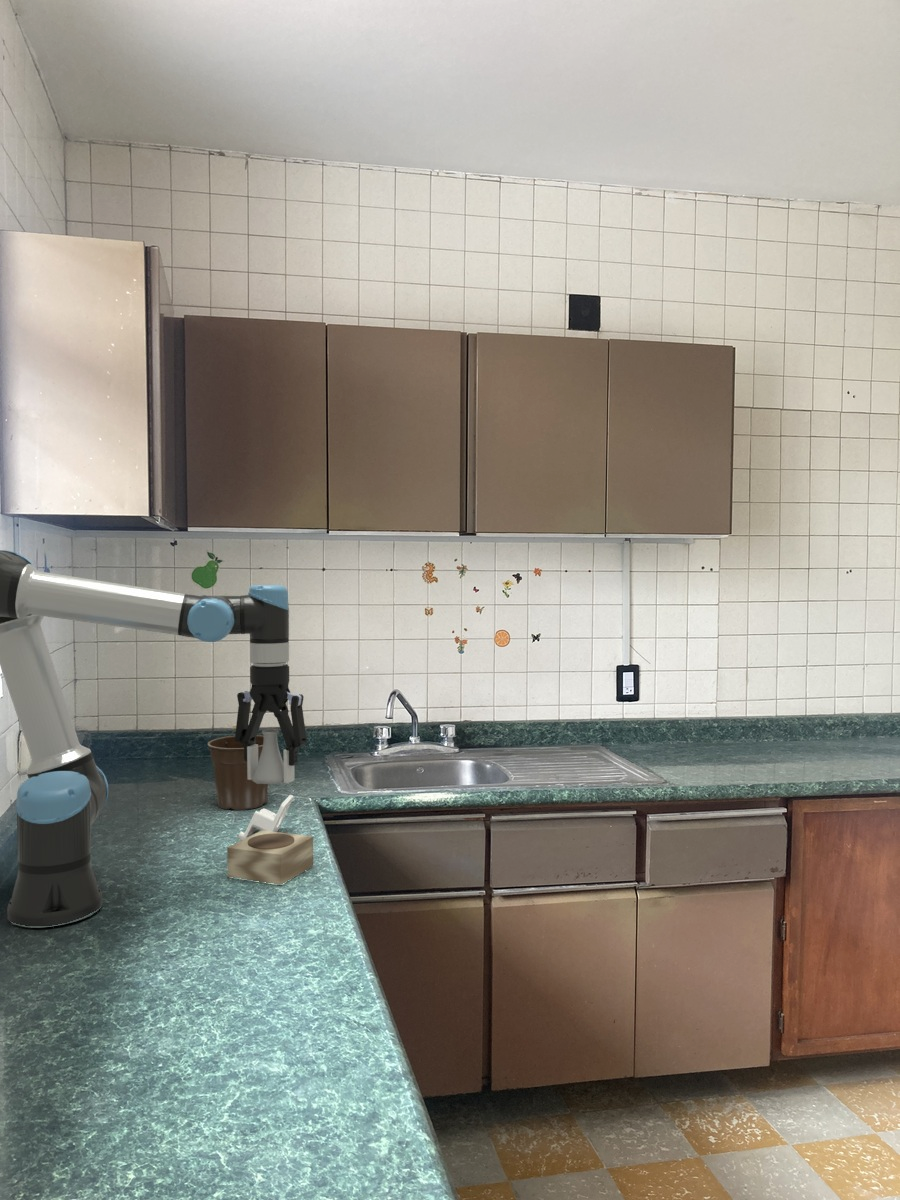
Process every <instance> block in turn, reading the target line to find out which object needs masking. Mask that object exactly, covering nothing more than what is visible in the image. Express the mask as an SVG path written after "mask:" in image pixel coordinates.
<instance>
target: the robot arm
mask: <svg viewBox="0 0 900 1200" xmlns="http://www.w3.org/2000/svg"><path fill="white" fill-rule="evenodd" d="M248 590H249V591H248V594H244V595H206V594H205V595H204V594H201V595H195V594H188V593H187V594H186V593H181V592H180V593H179V592H175V591H168V590H164V589H155V588H150V587H149V588H148V587H142V586H137V585H130V584H123V583H118V582H116V583H115V582H111V581H104V580H97V579H91V578H86V577H85V578H83V577H77V576H73V575H66V574H65V575H64V574H60V573H52V572H46V571H41V570H38V569H37V567H36V566H35V565H34V563H32V562H31V561H30V559H28V558H27V557H25V556H23V555H21V554H19V553H17V552H14V551H10V550H5V549H4V550H2V549H0V669H1V672H2V675H3V678H4V680H5V684H6V687H7V690H8V692H9V695H10V698H11V701H12V705H13V707H14V711H15V713H16V716H17V719H18V722H19V726H20V729H21V732H22V734H23V738H24V739H25V743H26V746H27V749H28V753H29V756H30V758H31V762H30V764H29V766H28V768H27V770H26V775H27V778H28V779H25V781H23V782H22V783H21V784H20V785H19V787H18V789H17V793H16V800H15V811H16V830H17V831H16V835H17V836H16V837H17V838H16V839H17V870H18V871H17V875H16V879H15V882H14V886H13V888H12V889H13V890H12V893H11V897H10V899H9V901H8V903H7V920H8V919H9V920H10V921H11V922H13V923H16V924H20V925H25V926H52V925H58V924H62V923H67V922H70V921H73V920H76V919H79V918H82V917H84V916H86V915H88V914H90V913H92V912H94V911H96V910H97V909H99V908H100V907H101V905H102V906H103V892H102V889H101V887H99V884H98V880H97V877H96V873H95V871H94V868H93V866H92V850H91V849H92V846H91V843H92V841H91V839H92V838H91V827H92V825H93V823H94V822H95V821H96V819H98V818H99V816H100V815H101V814H102V812H103V811H104V809H105V806H106V804H107V802H108V797H109V784H108V780H107V777H106V775H105V773H104V772H103V770H102V769H100V768H99V767H98V766H97V764H96V762H95V759H94V755H93V753H92V751H91V749H90V748H89V747H86V746H84V745H82V744H81V743H80V741H79V737H78V735H77V732H76V729H75V726H74V722H73V720H72V717H71V714H70V711H69V707H68V705H67V702H66V698H65V694H64V693H63V689H62V687H61V683H60V680H59V678H58V674H57V671H56V669H55V665H54V663H53V659H52V656H51V653H50V650H49V647H48V645H47V643H48V642H47V641H46V638H45V635H44V632H43V629H42V625H41V623H42V621H43V619H44V617H47V618H55V619H61V620H69V621H75V622H82V623H89V624H97V625H103V626H110V627H117V628H118V627H119V628H124V629H132V630H140V631H146V632H153V633H160V634H166V635H175V636H181V637H186V638H191V639H192V638H193V639H196V640H197V639H198V640H199V641H201V642H205V643H207V642H208V643H214V642H215V643H216V642H219V641H221V640H223V639H224V638H226V637H227V636H228V635H248V634H249V662H250V663H251V664H252V665H251V666H250V667H249V673H250V674H249V676H250V677H249V679H250V680H249V682H250V685H251V688H250V689H249V691H248V690H245V691H241V692H238V693H237V695H236V697H237V703H238V707H237V717H236V718H237V719H236V724H235V733H234V736H235V741H236V742H240V743H242V744H243V745H244V760H245V761H246V762H247V777H248V780H252V779H253V776H254V773H255V770H256V767H257V765H258V744H254V745H253V743H256V741H255V739H256V736H257V735H258V733H259V730H260V727H261V725H262V721H263V719H264V715H266V713H267V712H270V713H273V716H274V717H275V718H276V720H277V723H278V725H279V729H280V731H281V734H282V738H283V739H284V743H285V744H286V747H285V749H284V748H283V763H284V782H283V784H289V783H291V782H292V783H293V782H294V781H296V780H295V766H296V765H297V764H298V763H299V761H298V759H299V751H298V750H299V748H300V747H302V746H305V745H306V744H308V743H307V742H308V740H307V733H306V732H307V731H306V726H305V724H306V723H305V718H304V710H303V703H304V695H303V694H301V693H300V694H296V693H292V692H291V691H290V689H289V685H290V666H289V664H287V663H288V662H289V661H290V642H289V641H290V640H289V639H290V637H289V636H290V608H289V603H290V602H289V591H288V589H287V588H286V586H284V585H281V584H258V585H257V584H256V585H255V584H254V585H251V586H250V587H249V589H248ZM251 701H253V702H254V705H253V707H252V710H251V706H252V703H251ZM287 702H288V704H289V705H290V708H288V705H287ZM289 709H290V710H289ZM289 711H290V712H289ZM250 713H251V717H250ZM289 713H290V715H291V717H290V715H289Z"/></svg>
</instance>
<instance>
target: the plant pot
mask: <svg viewBox="0 0 900 1200" xmlns="http://www.w3.org/2000/svg"><path fill="white" fill-rule="evenodd" d="M255 741H256V743H253V745H254V744H258V761H259V758H260V755H261V752H262V747H263V741H264V736H263V735H261V734H260V735H259V734H257V736H256V739H255ZM207 746H208V748H209V751H210V759H211V761H212V767H213V773H214V781H215V782H214V783H215V791H216V792H215V793H216V799H217V806H218V807H219V808H220V807H221V808H220V809H223V810H227V809H228V810H230V809H233V810H234V811H245V810H247V809H248V810H253V809H255V808H259V807H262V806H264V805H265V804H266V803H267V802H268V788H269V787H268V786H269V784H257V783H255V782H253V781H252V780H248V777H247V762H246V761H245V760H244V745H243V744H242V743H240V742H236V741H235V735H232V736H231V735H227V736H222V737H217V738H215V739H211V740H210V741H208V742H207ZM248 810H247V811H248Z"/></svg>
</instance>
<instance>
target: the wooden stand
mask: <svg viewBox="0 0 900 1200" xmlns="http://www.w3.org/2000/svg"><path fill="white" fill-rule="evenodd" d="M226 849H227V850H226V851H227V853H226V854H227V862H226V864H227V878H228V877H233V878H241V879H247V880H253V881H259V882H266V883H274V884H283V883H285V882H286V881H288V880H290V879H292V878H294V877H295V876H297V875H298V876H300V875H301V874H300V873H302V872H303V873H305V872H306V871H308V870H309V869H311V868H313V867H314V836H310V835H302V834H295V833H288V832H278V831H277V832H273V831H265V830H259V831H258V832H257V831H256V832H254V833H253V834H252V835H251V836H249V837H247V838H245V839H243V840H239V841H238V842H235V843H234V844H231V845H229V846H228V847H227V848H226ZM312 866H313V867H312ZM307 869H308V870H307ZM305 870H306V871H305ZM304 871H305V872H304ZM303 873H302V874H303ZM299 874H300V875H299ZM298 876H297V877H298ZM295 878H296V877H295ZM295 878H294V879H295ZM292 880H293V879H292ZM290 881H291V880H290Z"/></svg>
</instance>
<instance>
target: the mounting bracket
mask: <svg viewBox="0 0 900 1200" xmlns="http://www.w3.org/2000/svg"><path fill="white" fill-rule="evenodd" d="M293 799H294V795H292V794H289V795H288V797H286V798H285V800H284V801H283V802H281V804H280V806H279V808H278V811H277V812H276V813H275V812H273V811H270V810H269V809H266V808H263V807H262V809H260V810H259V811H257V810H255V812H254V814H253V815H252V818H251V820H250V821H249V823H248V826H247V828H246V830H244V831H245V832H243V831H239V834H238V836H237V839H238V840H239V841H241V840H243V839H245V838H247V837H249V836H251V835H253V834H255V833H256V832H257V830H259V831H261V830H265V831H273V832H278V831H279V830H280V828H281V827H282V824H283V821H284V820H285V817H286V815H287V813H288V811H289V809H290V806H291V804H292V802H293Z"/></svg>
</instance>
